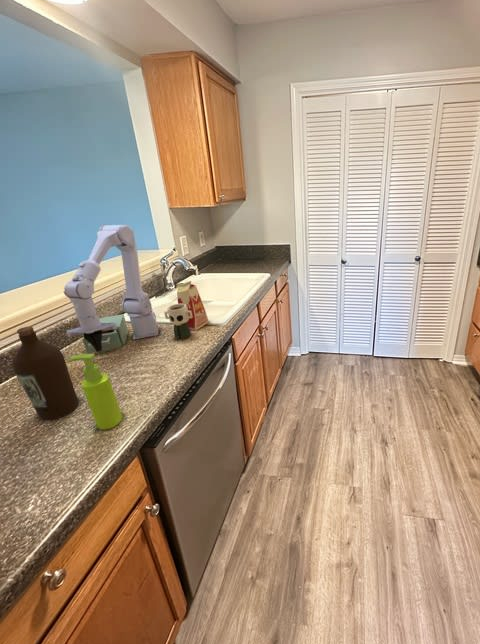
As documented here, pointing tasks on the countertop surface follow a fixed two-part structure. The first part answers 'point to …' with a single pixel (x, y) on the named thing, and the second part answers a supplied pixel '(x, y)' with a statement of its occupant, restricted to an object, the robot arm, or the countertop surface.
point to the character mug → (179, 319)
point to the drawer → (106, 341)
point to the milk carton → (192, 305)
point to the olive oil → (44, 376)
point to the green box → (120, 326)
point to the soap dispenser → (99, 393)
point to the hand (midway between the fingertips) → (99, 350)
